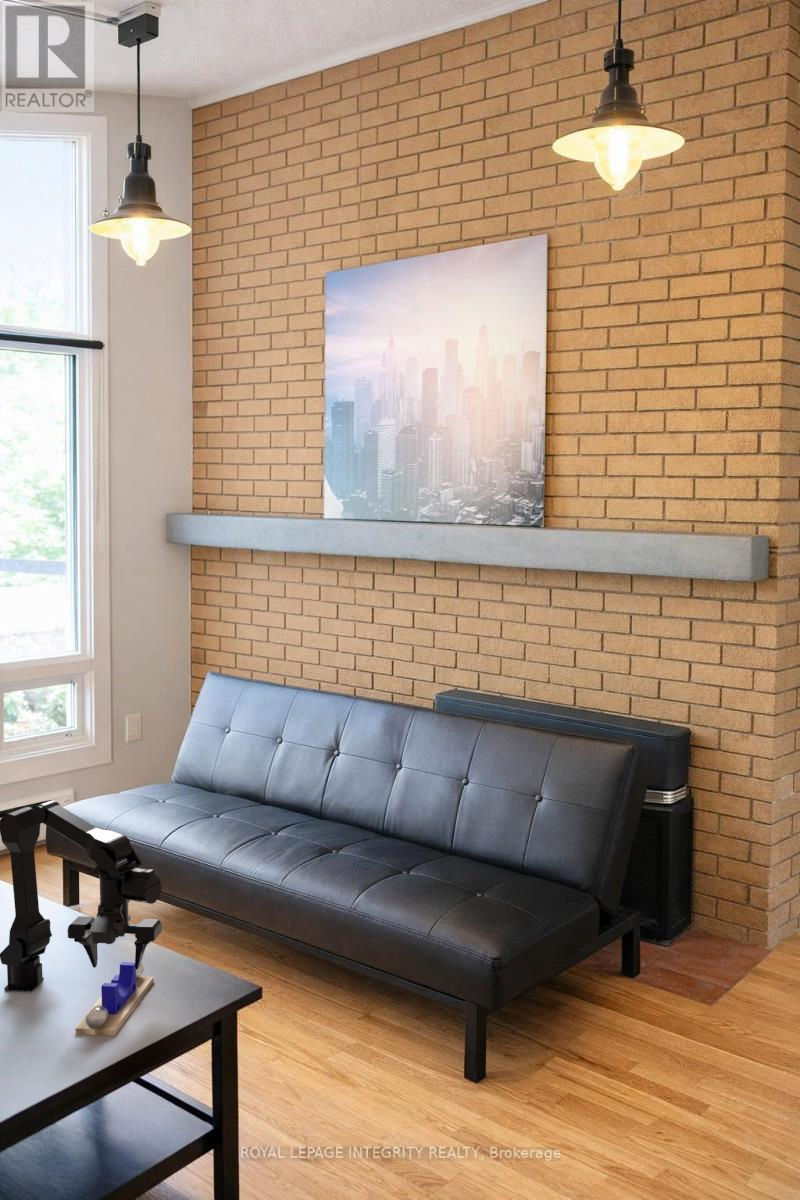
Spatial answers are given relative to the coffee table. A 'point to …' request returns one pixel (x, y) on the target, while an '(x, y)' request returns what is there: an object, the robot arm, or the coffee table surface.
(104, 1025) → the light wooden board
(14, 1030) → the coffee table surface
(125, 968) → the cable clip
